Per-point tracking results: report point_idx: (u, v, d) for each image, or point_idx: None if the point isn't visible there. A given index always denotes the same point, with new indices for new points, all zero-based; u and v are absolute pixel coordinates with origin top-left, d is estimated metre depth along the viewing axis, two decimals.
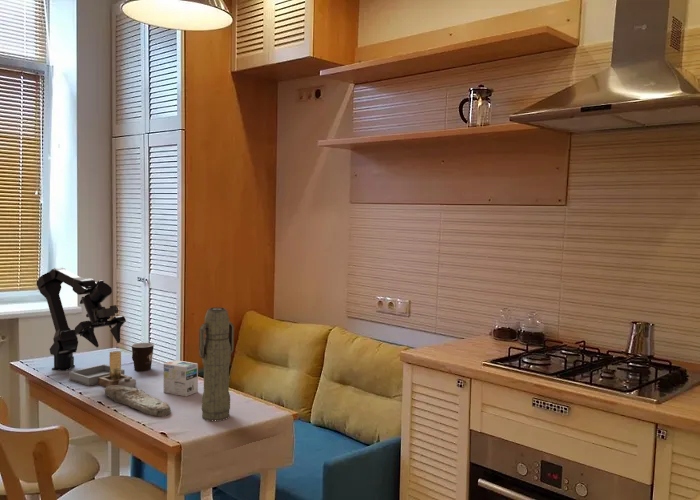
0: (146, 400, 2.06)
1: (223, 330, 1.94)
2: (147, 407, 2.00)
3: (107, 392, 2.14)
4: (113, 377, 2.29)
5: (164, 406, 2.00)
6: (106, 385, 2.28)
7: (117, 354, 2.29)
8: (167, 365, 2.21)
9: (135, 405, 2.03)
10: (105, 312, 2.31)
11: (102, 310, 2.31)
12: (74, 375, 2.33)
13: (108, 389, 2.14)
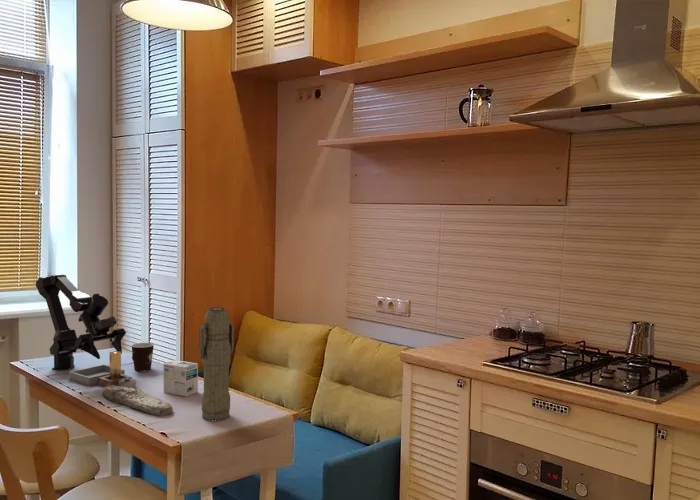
0: (147, 400, 2.06)
1: (223, 330, 1.94)
2: (149, 407, 2.00)
3: (105, 393, 2.13)
4: (113, 377, 2.29)
5: (166, 406, 2.01)
6: (106, 385, 2.28)
7: (117, 354, 2.29)
8: (167, 365, 2.21)
9: (136, 405, 2.03)
10: (103, 323, 2.31)
11: (100, 321, 2.31)
12: (74, 375, 2.33)
13: (106, 390, 2.13)
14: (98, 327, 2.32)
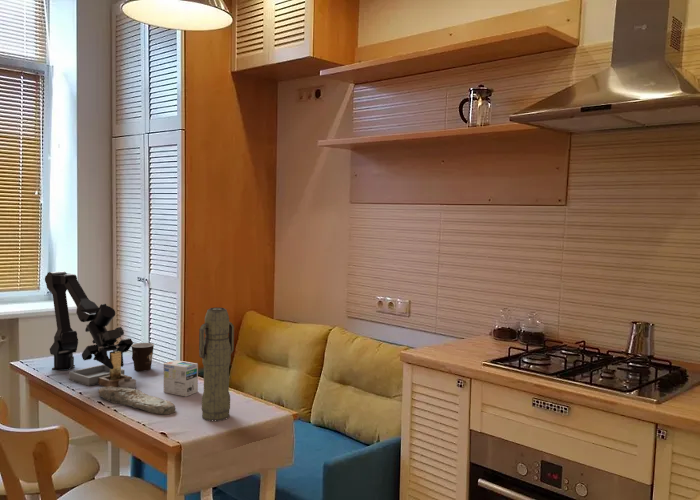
0: (148, 399, 2.07)
1: (223, 330, 1.94)
2: (152, 406, 2.01)
3: (103, 394, 2.12)
4: (113, 376, 2.29)
5: (170, 404, 2.02)
6: (106, 385, 2.28)
7: (117, 354, 2.29)
8: (167, 365, 2.21)
9: (138, 405, 2.03)
10: (110, 334, 2.29)
11: (107, 332, 2.29)
12: (74, 375, 2.33)
13: (104, 390, 2.12)
14: (105, 338, 2.30)
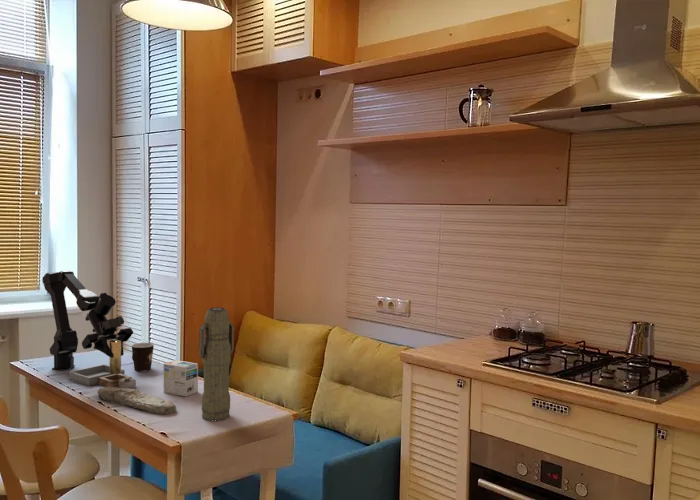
0: (148, 399, 2.07)
1: (223, 330, 1.94)
2: (153, 406, 2.01)
3: (102, 394, 2.12)
4: (113, 365, 2.29)
5: (170, 404, 2.02)
6: (106, 385, 2.28)
7: (117, 343, 2.29)
8: (167, 365, 2.21)
9: (139, 405, 2.03)
10: (110, 322, 2.28)
11: (107, 321, 2.29)
12: (74, 375, 2.33)
13: (103, 391, 2.12)
14: (105, 327, 2.29)
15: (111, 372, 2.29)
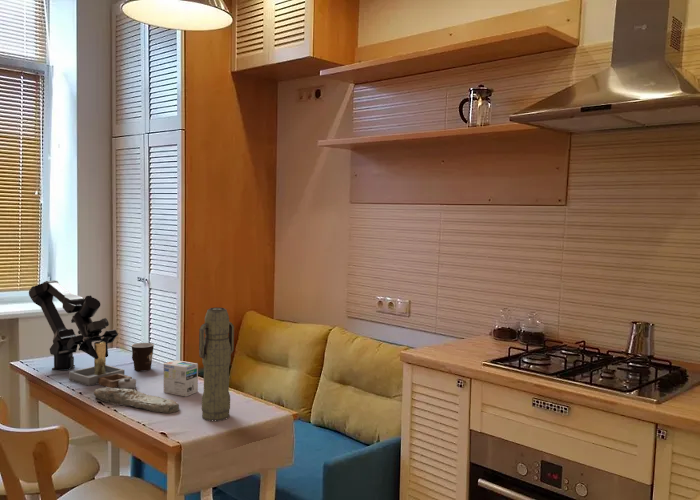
0: (149, 399, 2.07)
1: (223, 330, 1.94)
2: (156, 405, 2.02)
3: (100, 395, 2.10)
4: (98, 366, 2.35)
5: (174, 403, 2.04)
6: (106, 385, 2.28)
7: (102, 344, 2.35)
8: (167, 365, 2.21)
9: (141, 404, 2.03)
10: (95, 324, 2.34)
11: (92, 323, 2.34)
12: (74, 375, 2.33)
13: (101, 392, 2.11)
14: (90, 329, 2.35)
15: (96, 373, 2.35)
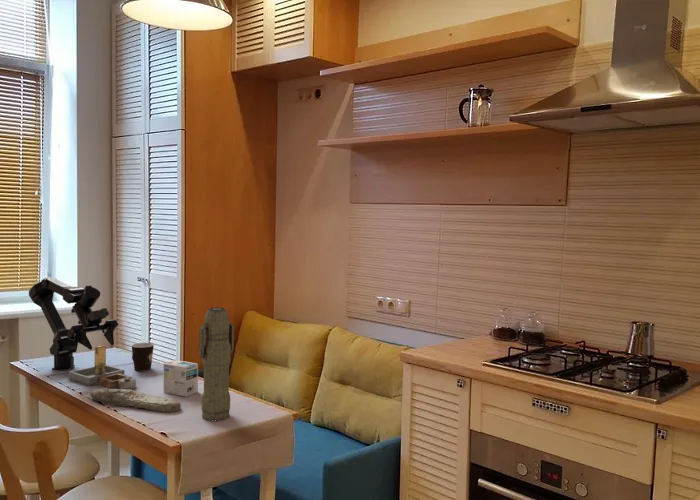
0: (149, 399, 2.08)
1: (223, 330, 1.94)
2: (158, 404, 2.02)
3: (98, 396, 2.09)
4: (98, 370, 2.35)
5: (175, 402, 2.05)
6: (106, 385, 2.28)
7: (102, 348, 2.35)
8: (167, 365, 2.21)
9: (142, 404, 2.04)
10: (95, 314, 2.34)
11: (92, 312, 2.34)
12: (74, 375, 2.33)
13: (99, 393, 2.10)
14: (90, 318, 2.35)
15: None
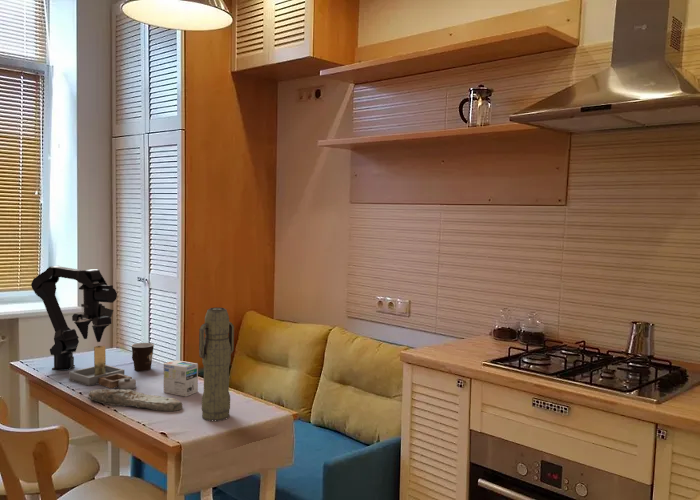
0: (150, 398, 2.08)
1: (223, 330, 1.94)
2: (160, 404, 2.03)
3: (97, 397, 2.09)
4: (98, 370, 2.35)
5: (177, 401, 2.06)
6: (106, 385, 2.28)
7: (101, 348, 2.35)
8: (167, 365, 2.21)
9: (144, 404, 2.04)
10: (112, 313, 2.50)
11: (111, 310, 2.49)
12: (74, 375, 2.33)
13: (98, 393, 2.09)
14: (106, 313, 2.47)
15: None
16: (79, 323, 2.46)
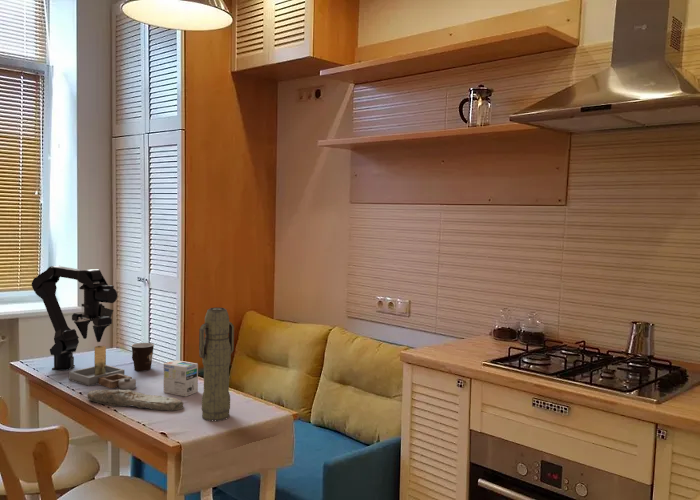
0: (150, 398, 2.08)
1: (223, 330, 1.94)
2: (161, 403, 2.04)
3: (97, 397, 2.08)
4: (98, 370, 2.35)
5: (178, 400, 2.06)
6: (106, 385, 2.28)
7: (102, 348, 2.35)
8: (167, 365, 2.21)
9: (144, 404, 2.04)
10: (112, 313, 2.50)
11: (111, 310, 2.49)
12: (74, 375, 2.33)
13: (97, 394, 2.08)
14: (106, 313, 2.47)
15: None
16: (79, 323, 2.46)
